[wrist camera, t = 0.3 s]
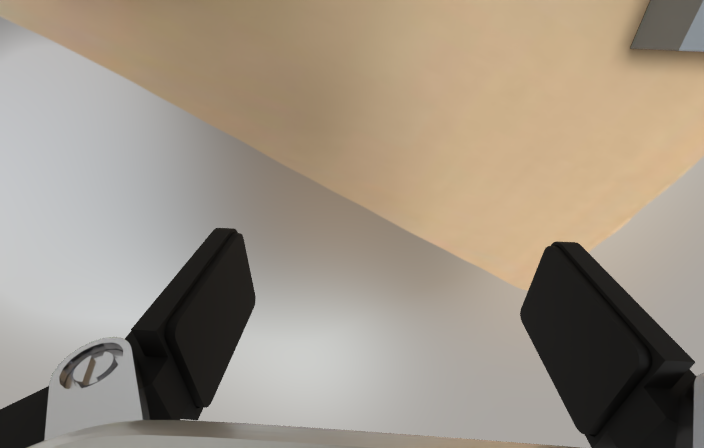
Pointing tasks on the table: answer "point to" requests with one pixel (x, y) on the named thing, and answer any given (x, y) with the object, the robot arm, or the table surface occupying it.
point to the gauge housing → (672, 26)
